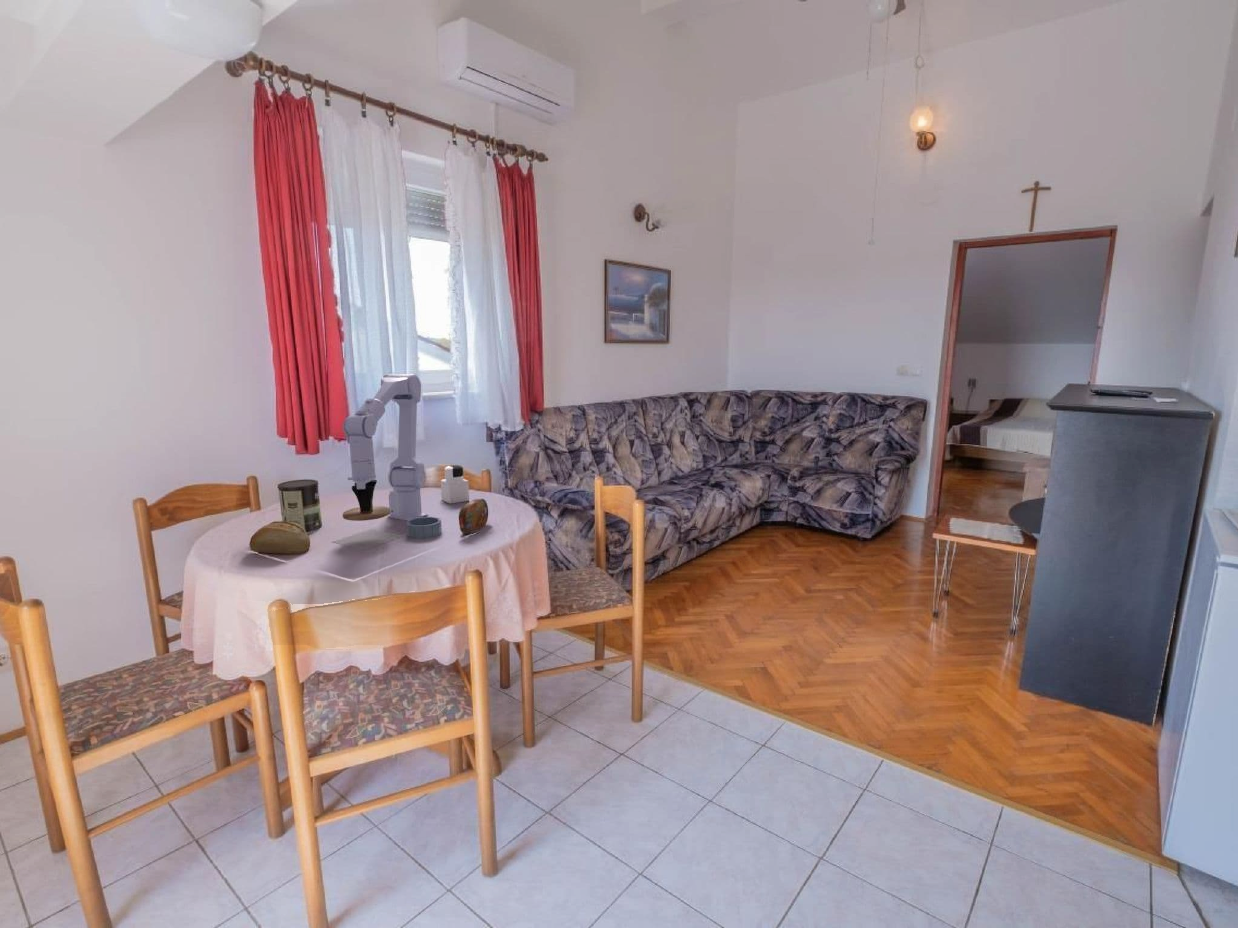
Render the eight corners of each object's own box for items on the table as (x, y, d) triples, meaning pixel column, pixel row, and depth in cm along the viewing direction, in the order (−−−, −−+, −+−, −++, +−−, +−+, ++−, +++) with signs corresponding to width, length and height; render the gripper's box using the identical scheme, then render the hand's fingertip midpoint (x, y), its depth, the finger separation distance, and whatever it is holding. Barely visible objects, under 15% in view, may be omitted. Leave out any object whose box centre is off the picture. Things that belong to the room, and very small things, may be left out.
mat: (331, 543, 165) (331, 541, 165) (371, 530, 177) (371, 529, 176) (364, 551, 159) (363, 549, 159) (403, 537, 170) (403, 536, 170)
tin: (468, 538, 170) (466, 509, 169) (457, 537, 171) (455, 508, 169) (489, 522, 185) (488, 495, 183) (480, 522, 185) (478, 495, 184)
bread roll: (263, 546, 164) (260, 517, 162) (319, 546, 164) (316, 517, 162) (241, 558, 154) (238, 528, 153) (301, 558, 154) (297, 528, 153)
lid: (333, 516, 164) (331, 500, 163) (370, 506, 174) (369, 491, 174) (363, 523, 158) (362, 506, 158) (399, 512, 169) (398, 496, 168)
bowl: (400, 536, 171) (399, 523, 170) (425, 528, 179) (424, 515, 178) (424, 541, 167) (423, 527, 166) (448, 533, 175) (447, 519, 174)
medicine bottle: (460, 496, 215) (459, 463, 213) (469, 500, 210) (468, 466, 207) (441, 499, 211) (439, 465, 208) (449, 504, 205) (447, 469, 203)
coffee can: (320, 523, 184) (316, 477, 181) (324, 532, 175) (319, 484, 172) (281, 528, 178) (276, 481, 176) (283, 538, 170) (278, 489, 167)
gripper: (350, 455, 169) (354, 503, 172) (342, 466, 156) (346, 517, 158) (377, 454, 171) (381, 501, 174) (371, 464, 157) (375, 515, 160)
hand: (366, 509), depth 166 cm, fingers closed on lid, 3 cm apart
